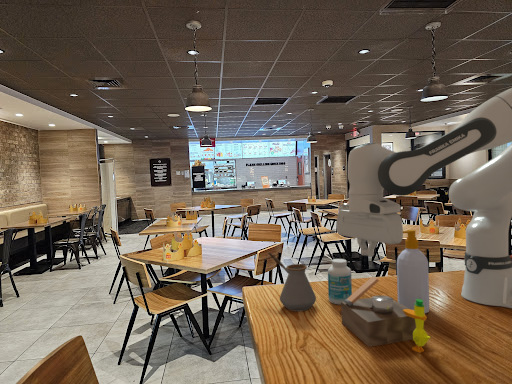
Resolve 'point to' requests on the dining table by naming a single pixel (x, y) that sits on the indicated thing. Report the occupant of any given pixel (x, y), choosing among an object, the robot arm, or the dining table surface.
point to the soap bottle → (412, 274)
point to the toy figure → (418, 325)
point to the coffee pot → (296, 288)
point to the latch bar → (361, 291)
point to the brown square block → (377, 323)
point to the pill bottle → (339, 281)
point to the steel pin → (382, 305)
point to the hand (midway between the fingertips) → (367, 255)
